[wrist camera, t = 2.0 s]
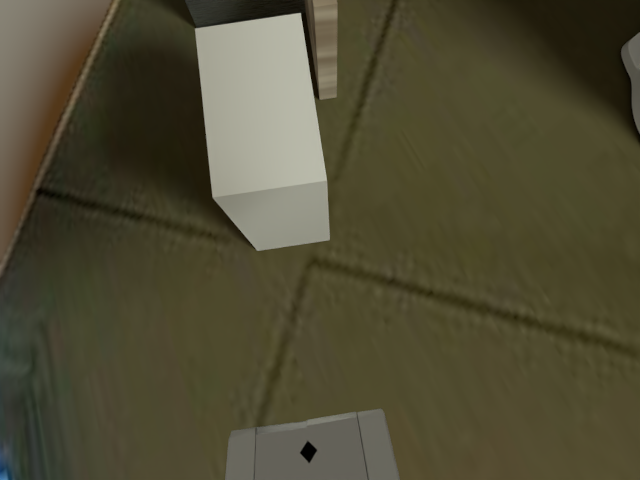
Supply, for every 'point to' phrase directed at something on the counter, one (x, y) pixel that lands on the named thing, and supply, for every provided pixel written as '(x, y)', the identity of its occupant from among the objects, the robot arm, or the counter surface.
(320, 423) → the robot arm
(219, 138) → the boxed book
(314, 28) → the shelf wall
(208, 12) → the bookend
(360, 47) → the counter surface
